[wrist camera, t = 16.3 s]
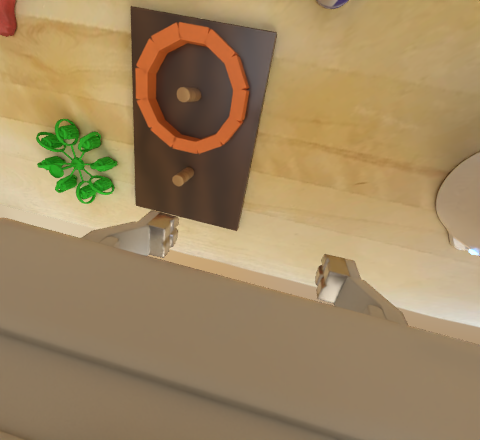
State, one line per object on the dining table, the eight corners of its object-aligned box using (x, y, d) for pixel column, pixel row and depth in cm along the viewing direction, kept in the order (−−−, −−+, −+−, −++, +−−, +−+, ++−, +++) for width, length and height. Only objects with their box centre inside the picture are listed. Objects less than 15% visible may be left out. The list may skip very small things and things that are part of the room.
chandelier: (36, 118, 45) (-4, 122, 39) (111, 117, 42) (81, 121, 36) (65, 197, 52) (34, 210, 46) (131, 200, 49) (108, 215, 43)
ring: (258, 39, 33) (255, 35, 30) (237, 158, 40) (234, 162, 38) (144, 18, 34) (134, 13, 32) (145, 137, 41) (136, 140, 39)
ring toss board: (277, 34, 33) (274, 23, 28) (238, 228, 47) (231, 244, 42) (135, 8, 35) (107, -7, 29) (139, 203, 49) (120, 216, 44)
